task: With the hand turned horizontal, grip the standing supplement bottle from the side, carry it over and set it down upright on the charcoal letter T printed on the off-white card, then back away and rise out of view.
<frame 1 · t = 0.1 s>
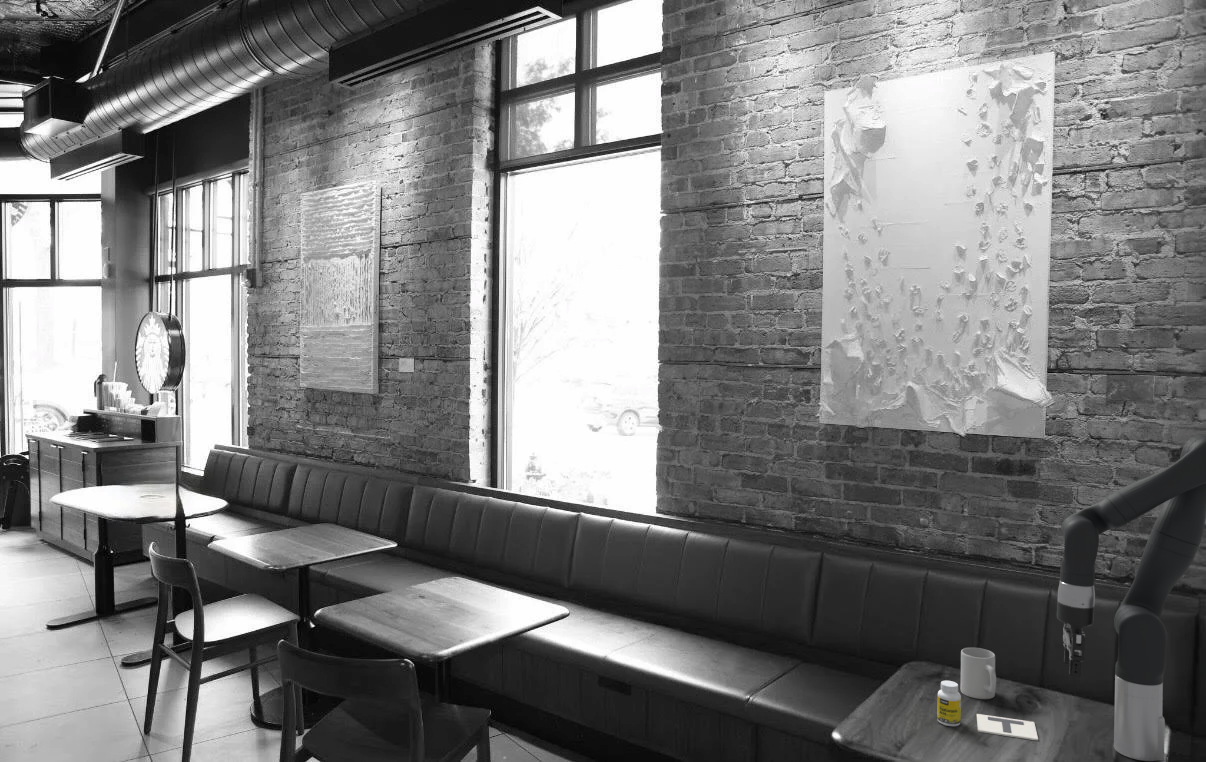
hand: (1071, 669, 198), 17 cm above the table, tool pointing down, fingers open, 8 cm apart
mug: (981, 696, 226), on the table
supplement bottle: (948, 723, 210), on the table
letter card: (1006, 727, 207), on the table
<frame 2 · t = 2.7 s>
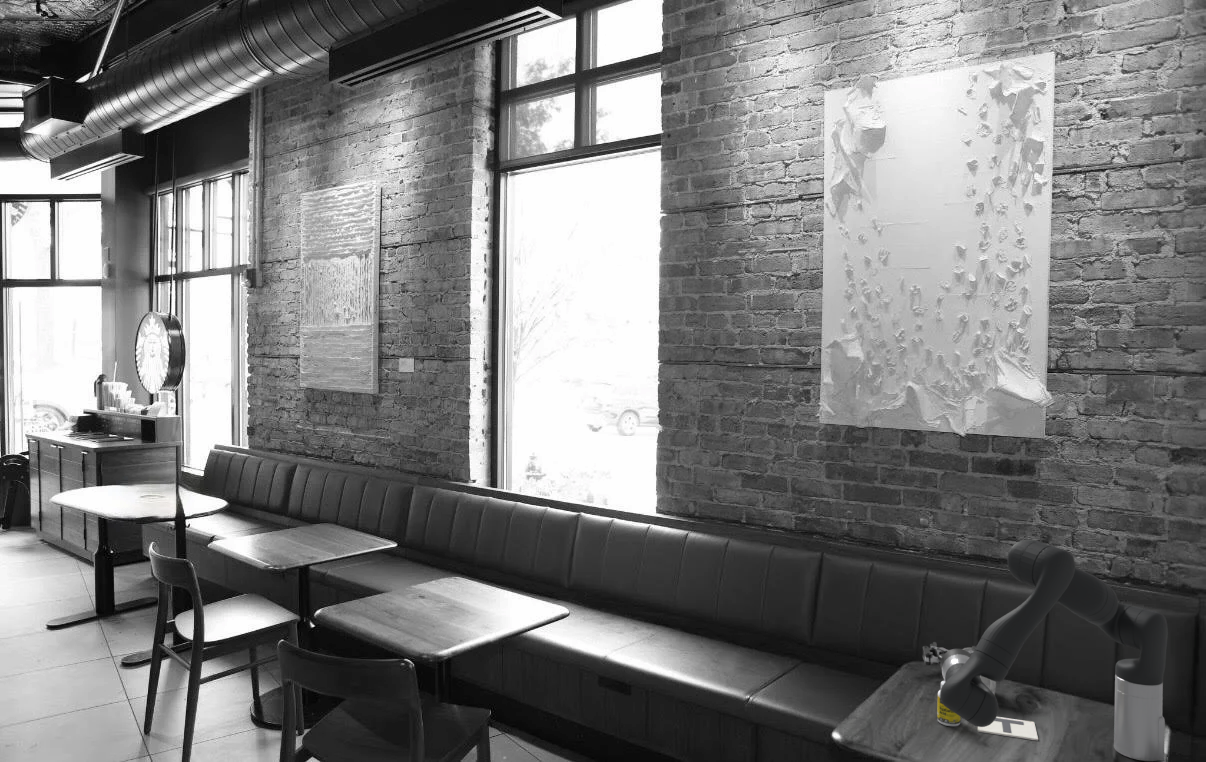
hand: (953, 648, 199), 22 cm above the table, tool horizontal, fingers open, 8 cm apart
nothing on the table moved.
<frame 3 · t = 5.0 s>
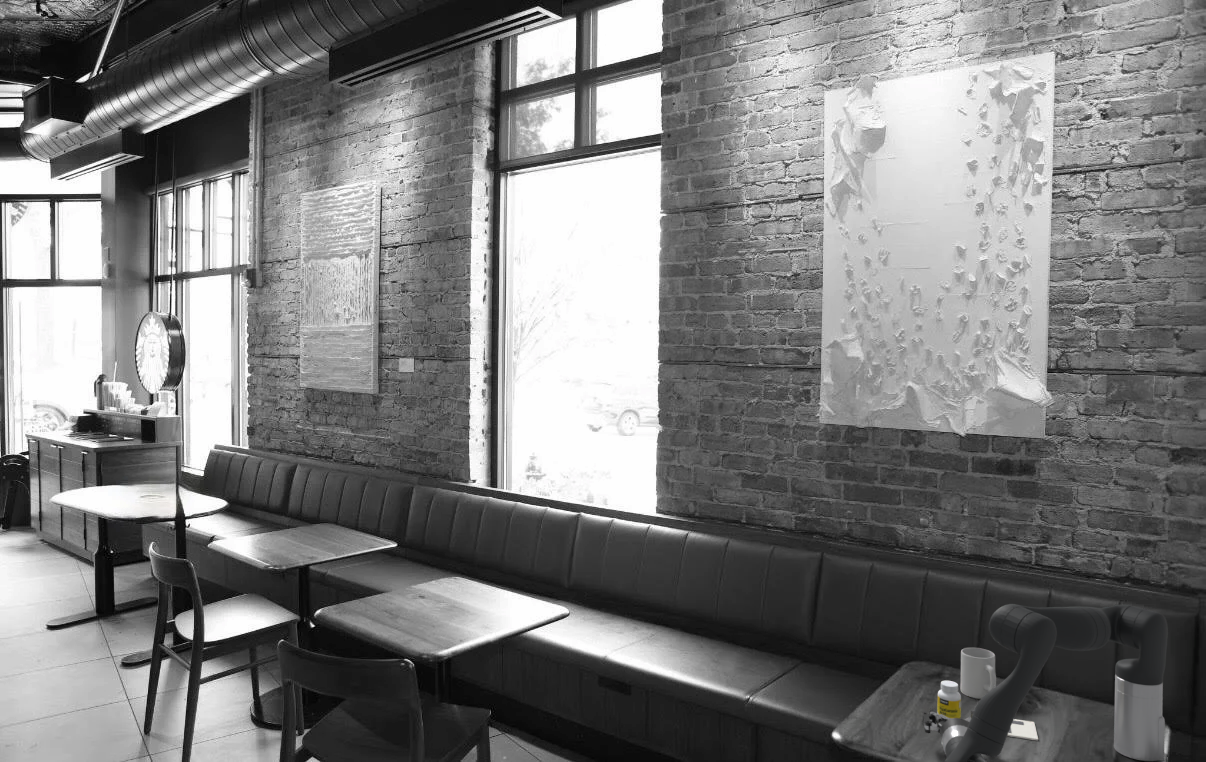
hand: (952, 712, 201), 6 cm above the table, tool horizontal, fingers open, 8 cm apart
nothing on the table moved.
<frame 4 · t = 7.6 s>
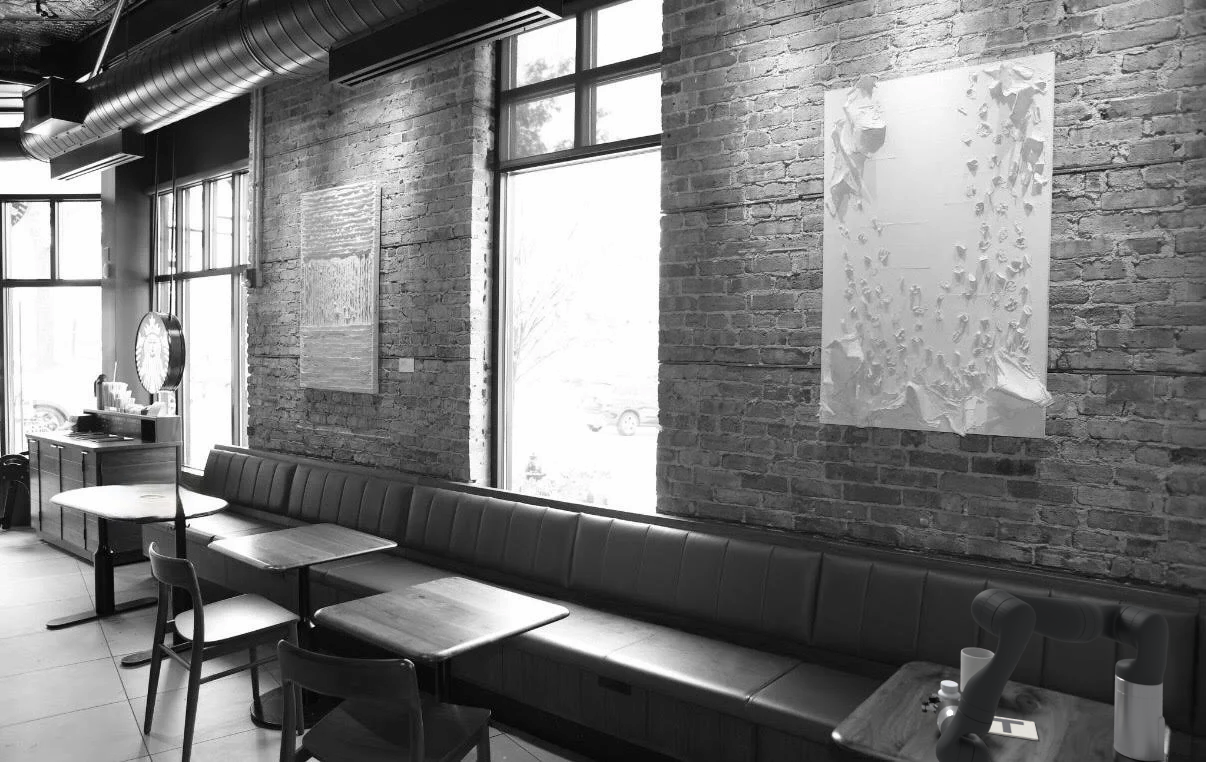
hand: (948, 694, 212), 6 cm above the table, tool horizontal, fingers closed on supplement bottle, 5 cm apart
supplement bottle: (948, 723, 210), on the table, touching gripper
everything else where it was.
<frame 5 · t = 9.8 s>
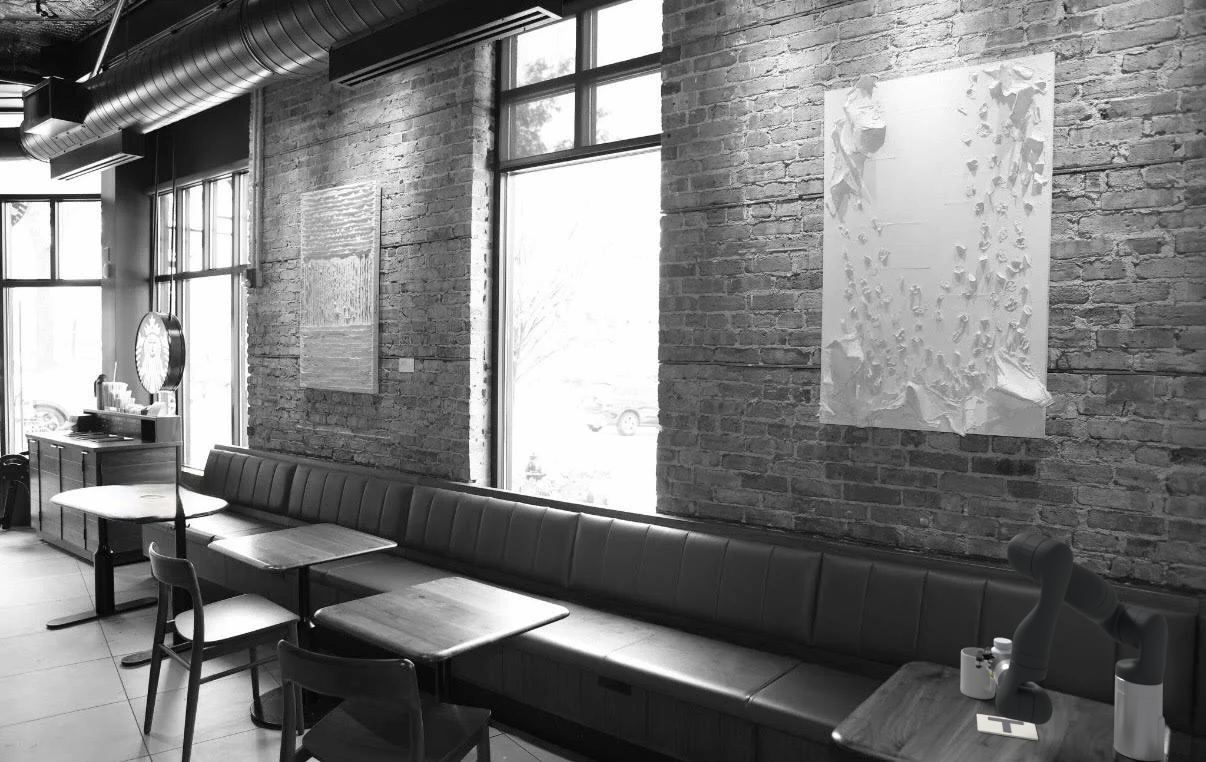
hand: (1001, 651, 209), 18 cm above the table, tool horizontal, fingers closed on supplement bottle, 5 cm apart
supplement bottle: (1002, 680, 207), point 11 cm above the table, touching gripper
everything else where it was.
when the fingers open (8 cm above the table, at t = 12.3 s): supplement bottle drops 1 cm, resting on letter card.
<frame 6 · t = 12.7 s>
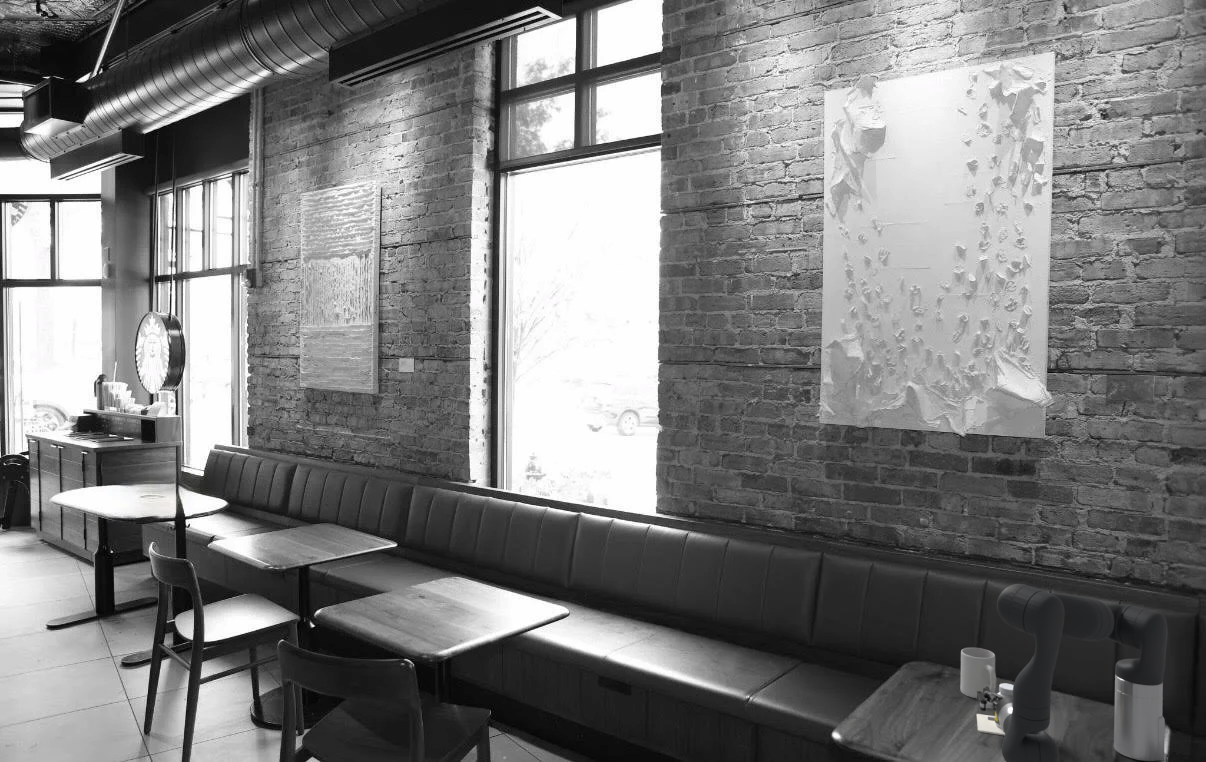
hand: (1005, 692, 208), 8 cm above the table, tool horizontal, fingers open, 8 cm apart
supplement bottle: (1006, 726, 206), resting on letter card
everything else where it was.
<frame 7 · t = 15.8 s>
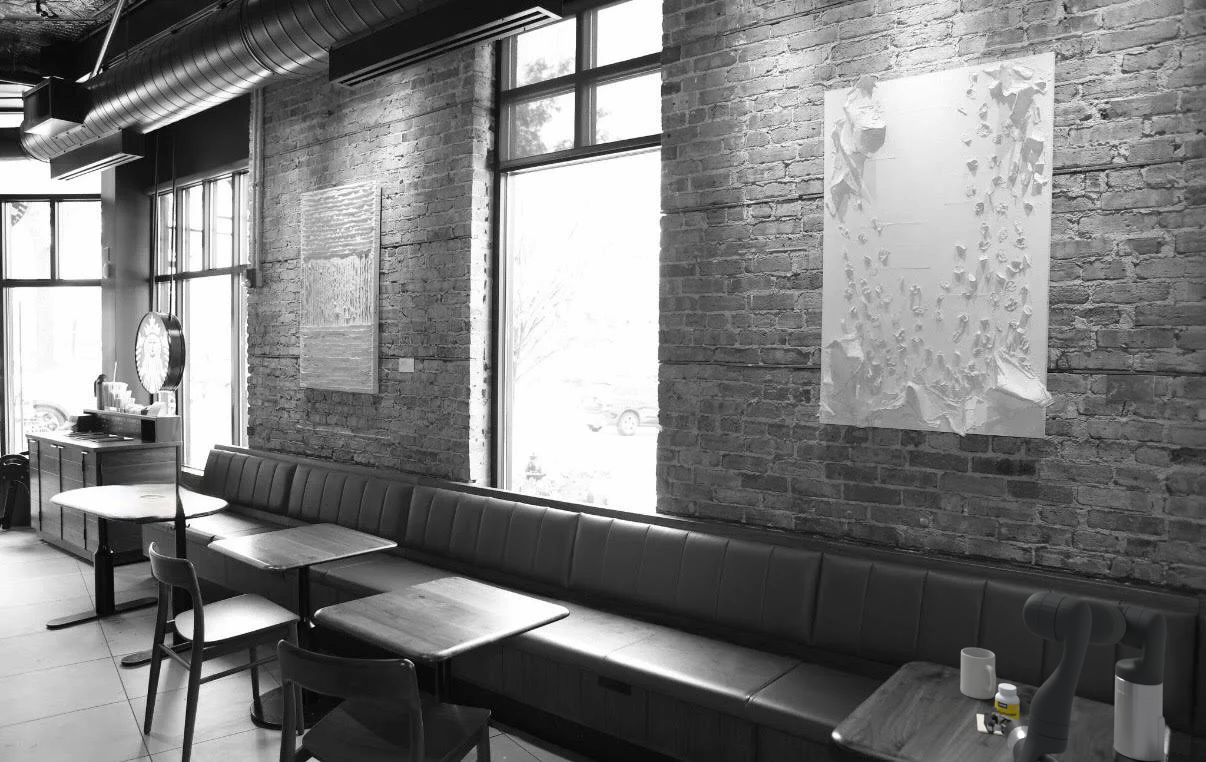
hand: (1014, 713, 196), 8 cm above the table, tool horizontal, fingers open, 8 cm apart
nothing on the table moved.
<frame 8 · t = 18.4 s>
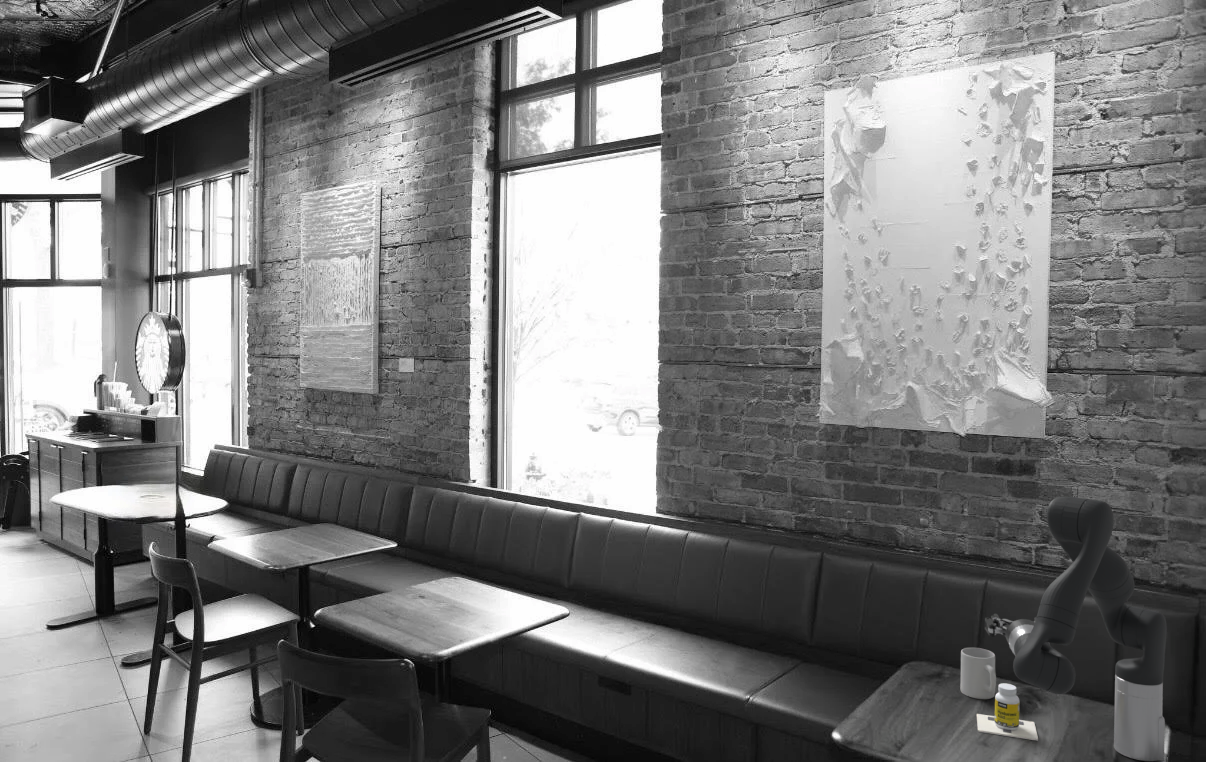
hand: (1015, 619, 195), 30 cm above the table, tool horizontal, fingers open, 8 cm apart
nothing on the table moved.
at the end: supplement bottle 0.2 cm off-centre on the letter card, point 0.3 cm above the letter card's base; supplement bottle tilted 0°; the gripper is holding nothing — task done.
